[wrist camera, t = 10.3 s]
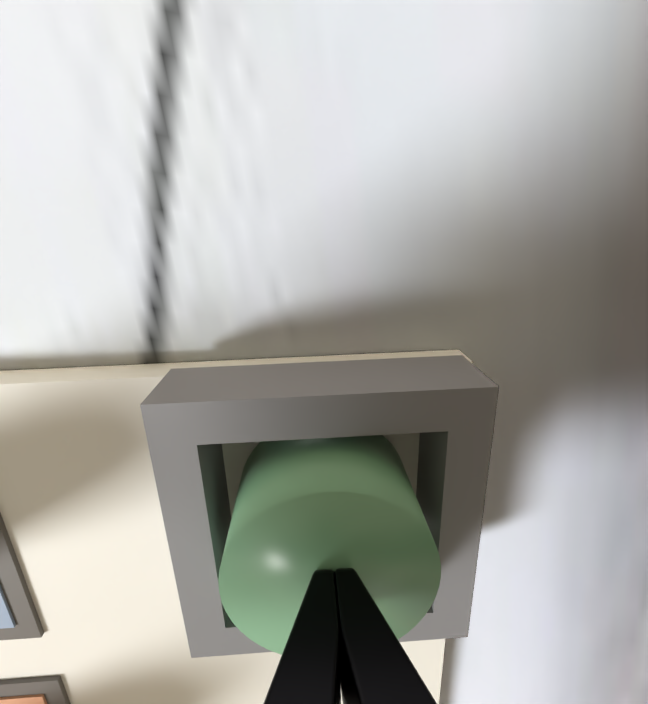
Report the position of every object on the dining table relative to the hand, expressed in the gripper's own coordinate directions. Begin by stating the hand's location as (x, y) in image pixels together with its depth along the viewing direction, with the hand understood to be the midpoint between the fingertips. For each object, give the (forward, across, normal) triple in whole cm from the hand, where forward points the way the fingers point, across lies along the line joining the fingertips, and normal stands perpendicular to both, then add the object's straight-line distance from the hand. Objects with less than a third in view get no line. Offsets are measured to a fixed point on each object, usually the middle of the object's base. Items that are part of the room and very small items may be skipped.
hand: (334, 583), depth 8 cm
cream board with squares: (+4, +7, +6) cm, 10 cm away
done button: (+3, 0, 0) cm, 3 cm away
